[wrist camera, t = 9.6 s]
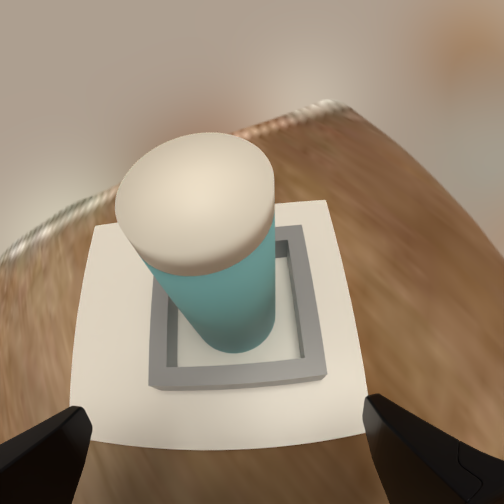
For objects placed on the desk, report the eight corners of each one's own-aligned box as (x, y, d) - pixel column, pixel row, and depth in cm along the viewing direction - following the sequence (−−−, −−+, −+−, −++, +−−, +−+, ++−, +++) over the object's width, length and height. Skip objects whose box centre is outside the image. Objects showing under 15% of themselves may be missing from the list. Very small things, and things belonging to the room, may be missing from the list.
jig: (367, 430, 15) (384, 431, 12) (77, 436, 15) (50, 434, 13) (323, 208, 23) (328, 180, 21) (100, 233, 24) (84, 210, 21)
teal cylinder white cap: (229, 370, 16) (165, 291, 7) (179, 310, 19) (94, 188, 9) (292, 316, 18) (309, 183, 8) (239, 263, 20) (209, 116, 11)
